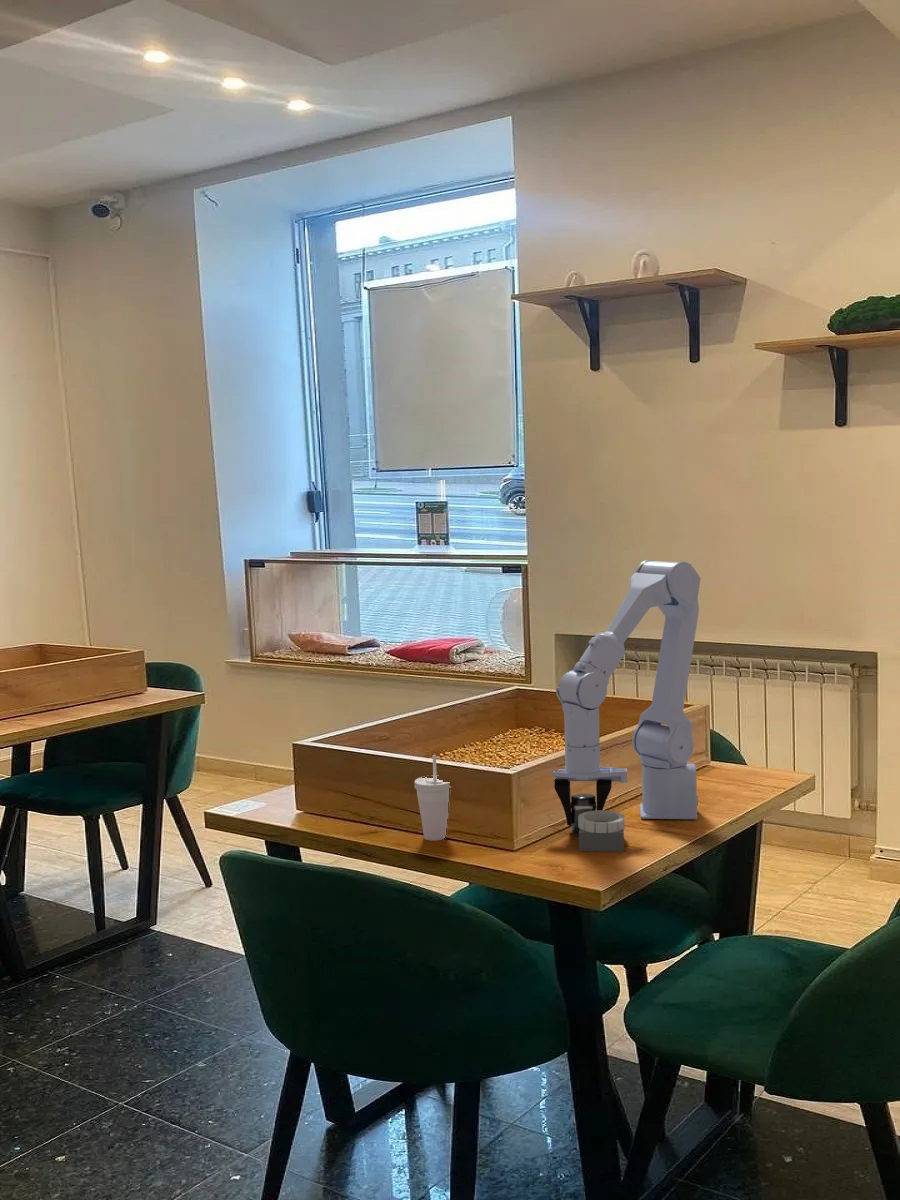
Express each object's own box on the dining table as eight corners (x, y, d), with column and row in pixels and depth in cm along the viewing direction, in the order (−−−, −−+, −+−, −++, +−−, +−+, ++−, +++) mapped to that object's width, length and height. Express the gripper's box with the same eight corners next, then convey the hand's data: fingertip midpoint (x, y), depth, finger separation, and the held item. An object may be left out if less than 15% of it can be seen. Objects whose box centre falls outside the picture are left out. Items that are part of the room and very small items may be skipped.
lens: (596, 828, 190) (596, 793, 189) (596, 836, 186) (595, 800, 185) (571, 828, 190) (571, 793, 190) (570, 835, 186) (570, 800, 186)
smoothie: (429, 845, 183) (426, 761, 182) (408, 836, 189) (405, 754, 187) (462, 838, 187) (459, 755, 186) (440, 828, 192) (438, 748, 191)
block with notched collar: (624, 837, 184) (624, 810, 184) (625, 851, 177) (624, 824, 177) (579, 836, 185) (579, 810, 185) (578, 851, 178) (577, 823, 178)
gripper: (536, 749, 184) (538, 830, 185) (626, 749, 182) (628, 831, 183) (539, 739, 191) (541, 817, 192) (626, 739, 188) (627, 818, 190)
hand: (583, 823), depth 188 cm, fingers closed on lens, 4 cm apart
